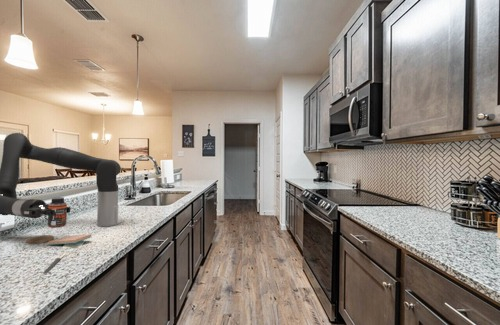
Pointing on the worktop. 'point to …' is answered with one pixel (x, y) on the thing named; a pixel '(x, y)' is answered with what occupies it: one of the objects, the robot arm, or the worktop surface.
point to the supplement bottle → (57, 212)
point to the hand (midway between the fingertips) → (61, 211)
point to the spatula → (70, 245)
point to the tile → (69, 239)
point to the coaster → (39, 239)
